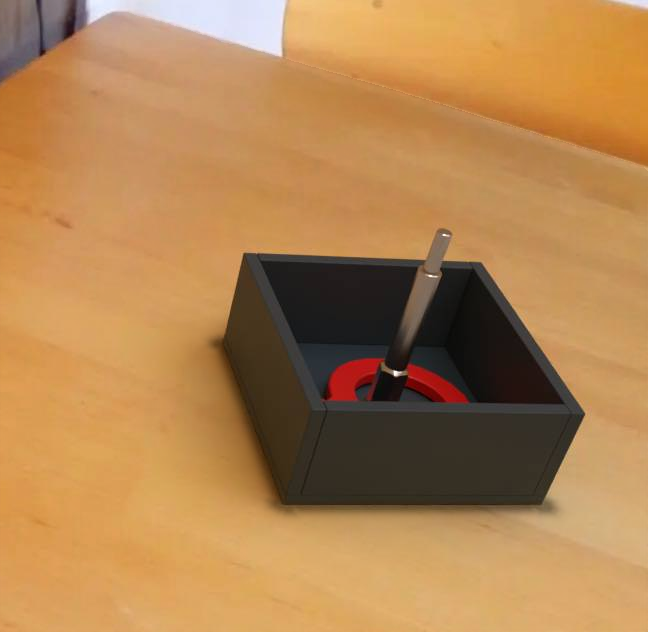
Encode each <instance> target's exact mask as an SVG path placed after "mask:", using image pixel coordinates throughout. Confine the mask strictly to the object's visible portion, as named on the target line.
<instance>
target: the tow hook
mask: <svg viewBox="0 0 648 632" xmlns="http://www.w3.org/2000/svg"><path fill="white" fill-rule="evenodd" d="M452 237H453V233H452V231H451V230H450V229H447V228H444V227H440V228H437V229H436V231H435V234H434V236H433V239H432V242H431V244H430V247H429V250H428V253H427V256H426V258H425V260H426V261H425V264H424V265H421V266H419V268H418V270H417V273H416V276H415V279H414V281H413V284H412V287H411V290H410V292H409V295H408V298H407V301H406V304H405V306H404V309H403V312H402V315H401V317H400V320H399V323H398V326H397V328H396V331H395V334H394V337H393V339H392V342H391V345H390V348H389V350H388V353H387V356H386V359H367V358H366V359H360V360H355V361H350V362H348V363H345V364H343V365H341V366H339V367H338V368H337V369H336V370H335V371H334V372H333V373H332V374H331V376H330V379H329V382H328V386H327V389H326V392H325V393H326V398H327V400H328V401H358V399H357V398H356V395H355V390H356V388H357V387H359V386H361V385H363V384H366V383H371V382H372V385H371V388H370V392H369V394H368V395H367V396H365V397H364V398H363V399H362V400H361V401H387V402H399V400H400V397H401V394H402V392H403V389H404V386H405V387H409V388H411V389H414V390H416V391H418V392H420V393H422V394H424V395H425V396H427V397H428V398H430V399H432V400H433V401H434V402H446V403H469V401H468V400H467V399H466V397H465V396H464V395H463V394H462V393H461V392H460V391H459V390H458V389H456V388H455V387H454V386H453V385H452V384H451V383H449V382H447V381H446V380H444V379H443V378H441V377H439V376H438V375H436V374H434V373H432V372H429V371H427V370H425V369H422V368H420V367H418V366H414V365H411V364H409V361H410V358H411V356H412V353H413V350H414V348H415V345H416V342H417V340H418V337H419V334H420V332H421V329H422V327H423V324H424V321H425V319H426V316H427V313H428V311H429V308H430V305H431V303H432V300H433V297H434V295H435V292H436V289H437V287H438V284H439V281H440V279H441V276H442V273H441V271H440V270H439V269H440V267H441V264H442V261H444V259H445V255H446V253H447V250H448V248H449V245H450V242H451V239H452ZM322 401H324V399H322Z"/></svg>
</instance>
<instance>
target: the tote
mask: <svg viewBox="0 0 648 632" xmlns="http://www.w3.org/2000/svg"><path fill="white" fill-rule="evenodd" d="M425 261H426V259H416V258H415V259H414V258H412V259H410V258H389V257H388V258H387V257H365V256H364V257H362V256H361V257H360V256H341V255H340V256H339V255H338V256H337V255H314V254H289V253H268V252H267V253H266V252H265V253H264V252H243V253H242V257H241V263H240V266H239V270H238V276H237V278H236V283H235V288H234V293H233V296H232V301H231V305H230V310H229V314H228V318H227V323H226V327H225V331H224V335H223V340H222V344H223V347H224V349H225V352H226V354H227V355H226V356H227V357H228V361H229V363H230V365H231V368H232V370H233V373H234V376H235V378H236V381H237V384H238V387H239V389H240V392H241V395H242V397H243V400H244V402H245V405H246V408H247V411H248V414H249V416H250V419H251V421H252V424H253V427H254V429H255V432H256V435H257V437H258V440H259V443H260V446H261V449H262V451H263V453H264V456H265V459H266V462H267V465H268V466H269V469H270V473H271V474H272V477H273V480H274V483H275V485H276V488H277V491H278V493H279V496H280V499H281V501H282V504H283V505H542V504H543V503H544V500H545V499H546V497H547V496H548V495H547V494H548V493H549V490H550V488H551V486H552V484H553V482H554V481H555V479H556V476H557V474H558V472H559V470H560V467H561V466H562V463H563V462H564V459H565V457H566V455H567V453H568V451H569V449H570V447H571V446H572V443H573V441H574V439H575V436H576V434H577V433H578V431H579V428H580V427H581V424H582V422H583V420H584V418H585V416H586V411H584V408H582V406H581V404H579V402H578V401H577V399H576V397H575V396H574V395H573V393H572V392H571V390H570V389H569V387H568V386H567V384H566V383H565V381H564V380H563V379H562V377H561V376H560V374H559V373H558V371H557V369H556V368H555V367H554V366H553V364H552V362H551V361H550V360H549V358H548V357H547V355H546V354H545V353H544V351H543V350H542V348H541V347H540V345H539V344H538V343H537V341H536V339H535V338H534V336H533V335H532V334H531V332H530V331H529V330H528V327H527V326H526V324H525V323H524V322H523V321H522V319H521V317H520V316H519V315H518V313H517V312H516V310H515V309H514V308H513V306H512V304H511V302H509V300H508V299H507V297H506V296H505V295H504V293H503V291H502V290H501V288H500V287H499V286H498V284H497V283H496V281H495V279H494V278H493V277H492V276H491V274H490V272H489V271H488V269H487V268H486V267H485V265H484V264H483V262H482V261H461V260H459V261H458V260H443V261H442V264H441V267H440V269H439V270H440V271H441V273H442V276H441V279H440V281H439V284H438V287H437V289H436V292H435V295H434V297H433V300H432V303H431V305H430V308H429V311H428V313H427V316H426V319H425V321H424V324H423V327H422V329H421V332H420V334H419V337H418V340H417V342H416V345H415V348H414V350H413V353H412V356H411V358H410V361H409V364H411V365H414V366H418V367H420V368H422V369H425V370H427V371H429V372H432V373H434V374H436V375H438V376H439V377H441V378H443V379H444V380H446V381H447V382H449V383H451V384H452V385H453V386H454V387H455V388H456V389H458V390H459V391H460V392H461V393H462V394H463V395H464V396H465V397H466V399H467V400H468V401H469V403H446V402H434V401H433V400H432V399H430V398H428V397H427V396H425V395H424V394H422V393H420V392H418V391H416V390H414V389H411V388H409V387H405V386H404V389H403V392H402V394H401V397H400V400H399V402H387V401H361V400H362V399H363V398H364V397H365V396H367V395H368V394H369V392H370V388H371V385H372V382H371V383H366V384H363V385H361V386H359V387H357V388H356V390H355V395H356V398H357V399H358V401H328V400H327V398H326V393H325V392H326V389H327V386H328V382H329V379H330V376H331V374H332V373H333V372H334V371H335V370H336V369H337V368H338V367H339V366H341V365H343V364H345V363H348V362H350V361H355V360H360V359H366V358H367V359H386V356H387V353H388V350H389V348H390V345H391V342H392V339H393V337H394V334H395V331H396V328H397V326H398V323H399V320H400V317H401V315H402V312H403V309H404V306H405V304H406V301H407V298H408V295H409V292H410V290H411V287H412V284H413V281H414V279H415V276H416V273H417V270H418V268H419V266H421V265H424V264H425ZM322 399H324V401H322Z"/></svg>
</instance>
